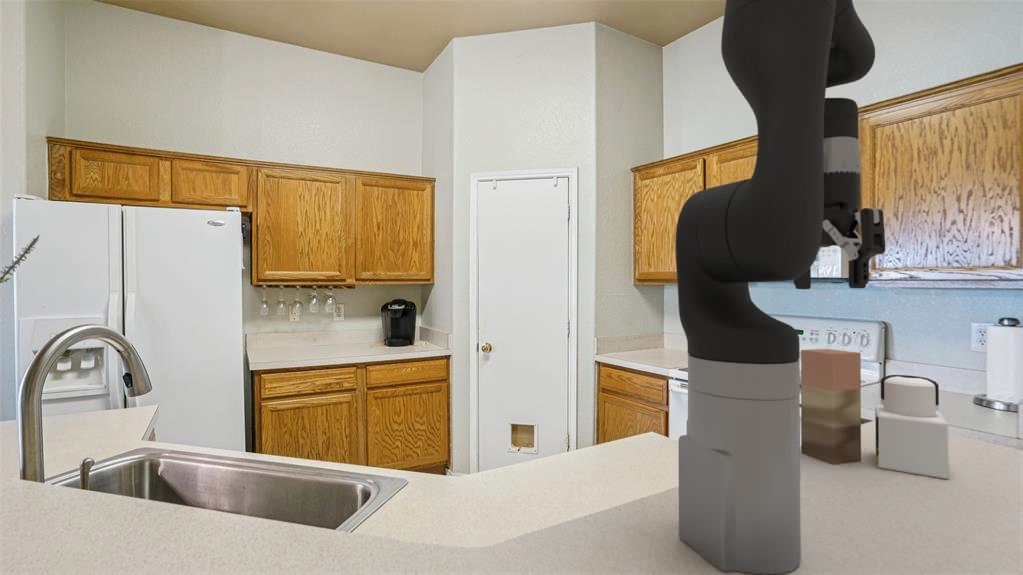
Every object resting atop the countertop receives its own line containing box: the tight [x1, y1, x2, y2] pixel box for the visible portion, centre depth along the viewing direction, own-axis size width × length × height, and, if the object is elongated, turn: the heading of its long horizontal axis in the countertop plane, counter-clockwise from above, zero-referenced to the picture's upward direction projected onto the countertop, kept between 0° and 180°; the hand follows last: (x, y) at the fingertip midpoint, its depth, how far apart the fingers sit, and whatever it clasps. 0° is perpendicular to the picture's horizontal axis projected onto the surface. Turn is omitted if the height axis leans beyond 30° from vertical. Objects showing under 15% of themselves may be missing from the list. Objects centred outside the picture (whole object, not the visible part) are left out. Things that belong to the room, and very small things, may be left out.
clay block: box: [800, 348, 862, 391], centre depth 69 cm, size 5×5×5 cm
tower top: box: [800, 384, 862, 428], centre depth 69 cm, size 5×5×5 cm
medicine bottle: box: [874, 374, 950, 480], centre depth 65 cm, size 7×7×12 cm
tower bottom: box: [800, 418, 862, 466], centre depth 69 cm, size 5×5×5 cm
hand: (828, 288), depth 69 cm, fingers open, 8 cm apart
